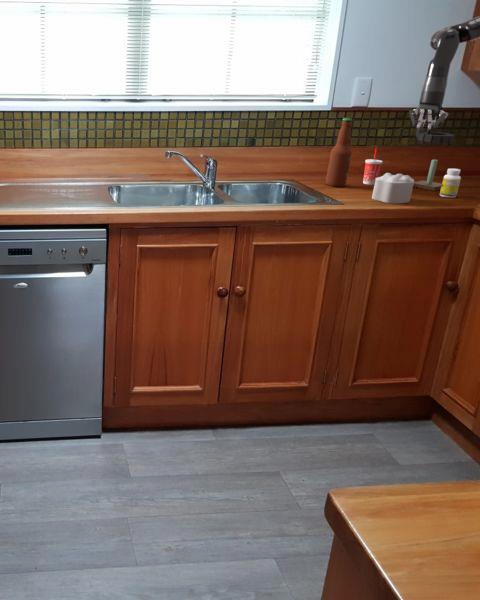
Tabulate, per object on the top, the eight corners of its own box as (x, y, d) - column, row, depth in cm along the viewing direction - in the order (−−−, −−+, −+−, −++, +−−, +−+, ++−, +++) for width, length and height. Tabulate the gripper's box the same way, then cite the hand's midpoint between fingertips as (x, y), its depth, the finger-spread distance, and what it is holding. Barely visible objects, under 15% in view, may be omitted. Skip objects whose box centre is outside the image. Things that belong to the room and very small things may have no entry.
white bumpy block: (367, 197, 217) (372, 173, 213) (392, 194, 222) (397, 170, 219) (392, 204, 208) (398, 179, 205) (418, 201, 213) (423, 176, 210)
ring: (458, 141, 220) (460, 134, 219) (443, 143, 214) (444, 136, 213) (427, 137, 228) (428, 131, 227) (411, 139, 222) (412, 133, 221)
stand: (445, 188, 234) (452, 160, 230) (433, 190, 229) (440, 162, 225) (422, 184, 241) (429, 157, 237) (410, 186, 236) (416, 159, 232)
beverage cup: (374, 182, 242) (382, 146, 237) (380, 185, 237) (387, 149, 231) (358, 181, 243) (365, 146, 237) (363, 184, 237) (371, 148, 232)
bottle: (349, 186, 234) (362, 119, 224) (334, 187, 231) (347, 119, 221) (335, 182, 240) (347, 117, 230) (321, 183, 237) (332, 117, 228)
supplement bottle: (440, 193, 225) (447, 167, 221) (457, 196, 221) (464, 169, 218) (437, 196, 221) (444, 169, 217) (454, 198, 218) (461, 171, 214)
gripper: (459, 90, 214) (447, 140, 221) (419, 88, 225) (409, 136, 232) (448, 91, 210) (437, 142, 217) (409, 88, 221) (399, 137, 227)
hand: (422, 138), depth 224 cm, fingers closed on ring, 2 cm apart
